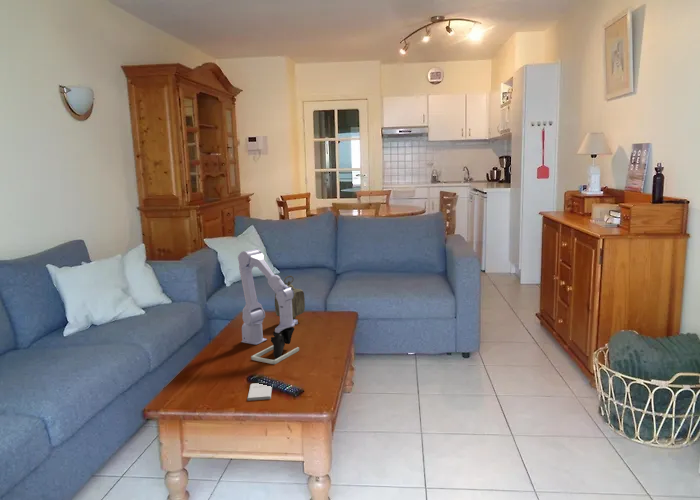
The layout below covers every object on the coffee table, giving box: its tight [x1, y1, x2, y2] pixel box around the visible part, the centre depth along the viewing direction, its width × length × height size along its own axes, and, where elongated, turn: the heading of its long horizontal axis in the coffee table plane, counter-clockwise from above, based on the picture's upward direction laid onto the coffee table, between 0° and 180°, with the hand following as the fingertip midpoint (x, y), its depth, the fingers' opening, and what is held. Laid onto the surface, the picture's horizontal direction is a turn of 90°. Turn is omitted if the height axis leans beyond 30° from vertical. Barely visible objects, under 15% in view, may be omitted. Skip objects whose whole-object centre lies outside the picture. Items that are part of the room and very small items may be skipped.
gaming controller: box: [270, 330, 286, 360], centre depth 228 cm, size 14×6×10 cm, turn 1°
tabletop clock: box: [274, 275, 306, 324], centre depth 273 cm, size 14×9×25 cm, turn 144°
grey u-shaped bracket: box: [250, 344, 300, 365], centre depth 228 cm, size 13×18×2 cm
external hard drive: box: [247, 382, 273, 401], centre depth 191 cm, size 2×8×12 cm
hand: (287, 343), depth 235 cm, fingers closed
